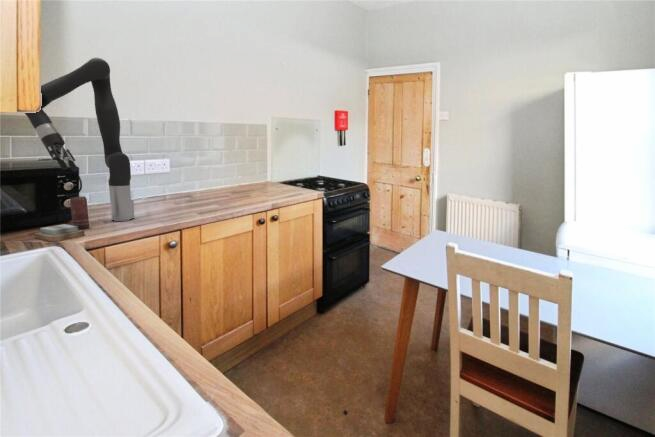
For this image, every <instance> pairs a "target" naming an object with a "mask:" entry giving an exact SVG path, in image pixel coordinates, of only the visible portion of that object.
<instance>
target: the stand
mask: <svg viewBox="0 0 655 437" xmlns="http://www.w3.org/2000/svg"><path fill="white" fill-rule="evenodd" d="M39 229H40V232H36V233H35V232H34V234H33V236H34V239H37V240H42V241H47V242H51V241H55V242H60V241H64V240H70V239H75V238H79V237H85V236H86V233H85V230H83V229H81V230H78V226H73V224H72V225H71V224H65V223H63V224H56V225H52V226H51V225H50V226H46V227H40V228H39Z"/></svg>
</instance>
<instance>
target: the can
mask: <svg viewBox="0 0 655 437" xmlns="http://www.w3.org/2000/svg"><path fill="white" fill-rule="evenodd" d="M87 200H88V198H86V196H72V197H70V199H69V203H70V206H69V207H70V213H71V222H72V223H71V224H72V225H73V226H78V230H87V229H89V227H90V219H89V210H88V201H87Z"/></svg>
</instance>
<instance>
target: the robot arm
mask: <svg viewBox="0 0 655 437" xmlns="http://www.w3.org/2000/svg"><path fill="white" fill-rule="evenodd" d="M90 82H91V86H92V90H93V93H94V94H93V98H94V110H95V116H96V120H97V124H98V130H99V133H100V136H101V140H102V144H103V152H104V163H105V165H106V167H107V168H108V169H109V178H108V180H107V181H108V189H109V190H108V192H109V201H110V214H111V220H114V221H113V222H124V221H125V222H126V221H131V220H130V219H132V218H135V207H134V200H133V199H132V191H131V177H132V174H131V172H132V170H131V163H130V162H131V161H130V158H129V157H128V155H127V154H125V153H123V151H122V146H121V142H120V140H121V138H120V136H121V120H120V115H119V111H118V106H117V104H116V100H115V98H114V95H113V92H112V87H111V86H112V85H111V68H110V65H109V63H108V62H107V61H106V60H104V59H103V58H101V57H93V58H91V59H89V60H88V61H87V62H85V63H84V64H83V65H81V66H79V67H78V68H76V69H74V70H73V71H71V72H69V73H67V74H64V75H62V76H60V77H57V78H54V79H52V80H51V81H48V82H46V83H43V84H42V85H40V86H41V93H42V106H41V110H40V111H39V112H36V113H24V115H26V117H27V118H28V120H29V121H30V123H31V125H32V127H33V128H34V130H35V133H36V134H37V136H38V138H39V139H40V141H41V143H42V144H43V146H44V148H45V149H46V150H47V152H48V154H49V156H50V157H51V160H52V161H55V162H56V163H58V165H59V167H60V168H61V170H66V169H68V168H70V169H71V171H72V172H75V171H78V170H79V169H78V168H79V167H77V165H76V163H75V161H76V159H75V157H74V156H73V154H72V153H71V151H70V150H69V148H67V149H66V148H64V145H65V144H66V141H65V140H64V138H63V136H62V135H61V133H60V131H59V130H58V128H57V127H56V126H55V125H54V123H53V121H52V120H51V118H50V117H49V115H48V114H47V113H46V112H45V111H44V109H45V108H46V107H47V106H48V105H50V104H51V103H52V102H53V101H55V100H58V99H59V98H63V97H65V96H66V95H68V94H69V93H71V92H73V91H74V90H76V89H78V88H79V87H81V86H83V85H85V84H87V83H90ZM66 163H67V164H68V165H67V164H66ZM68 166H69V167H68ZM132 220H133V219H132Z"/></svg>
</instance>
